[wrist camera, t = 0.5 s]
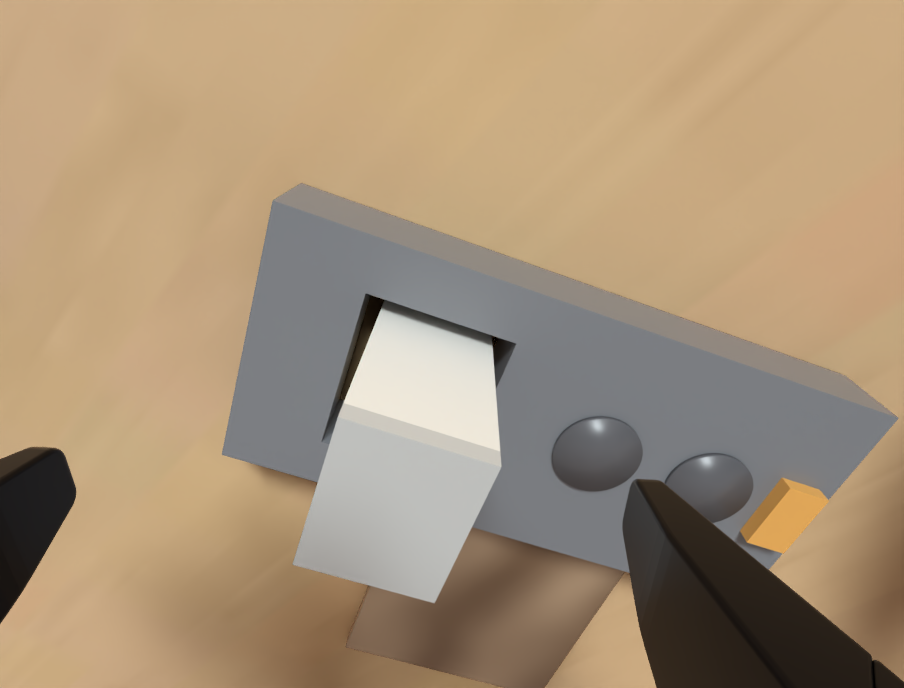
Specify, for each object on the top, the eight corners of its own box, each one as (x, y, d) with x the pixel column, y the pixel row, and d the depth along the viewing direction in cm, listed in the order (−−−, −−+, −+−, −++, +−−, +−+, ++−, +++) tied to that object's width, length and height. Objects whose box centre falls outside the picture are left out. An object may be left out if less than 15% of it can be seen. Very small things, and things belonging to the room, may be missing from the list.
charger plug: (490, 317, 21) (501, 467, 13) (446, 422, 23) (433, 606, 15) (391, 283, 21) (337, 417, 12) (355, 394, 23) (291, 568, 15)
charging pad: (628, 551, 26) (631, 561, 25) (537, 685, 31) (538, 696, 30) (408, 486, 25) (407, 495, 24) (347, 636, 29) (345, 647, 29)
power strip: (845, 375, 22) (911, 428, 18) (710, 549, 26) (744, 616, 22) (301, 183, 19) (265, 204, 16) (251, 411, 23) (215, 464, 20)
